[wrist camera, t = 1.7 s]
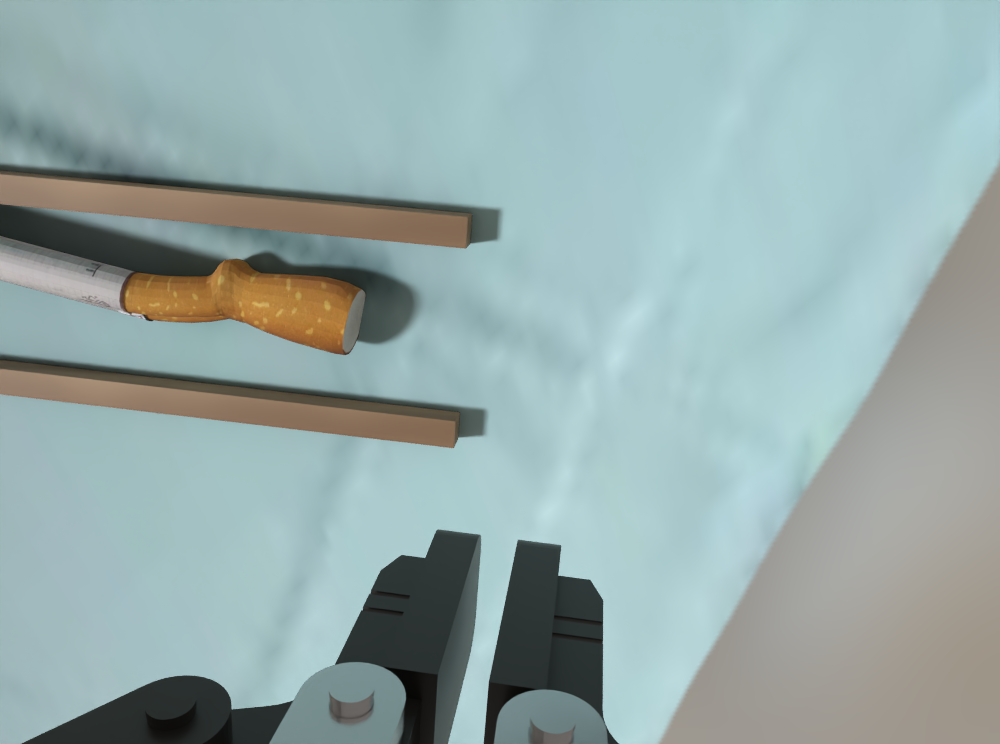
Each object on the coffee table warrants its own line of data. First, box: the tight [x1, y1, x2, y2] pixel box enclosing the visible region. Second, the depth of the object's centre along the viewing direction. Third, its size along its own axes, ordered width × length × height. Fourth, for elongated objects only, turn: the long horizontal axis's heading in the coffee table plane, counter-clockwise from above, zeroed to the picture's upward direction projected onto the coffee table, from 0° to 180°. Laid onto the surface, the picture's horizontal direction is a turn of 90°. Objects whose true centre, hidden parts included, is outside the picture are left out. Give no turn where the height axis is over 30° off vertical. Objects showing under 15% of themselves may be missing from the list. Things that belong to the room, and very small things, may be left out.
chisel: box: [0, 236, 366, 355], centre depth 28 cm, size 19×3×3 cm
